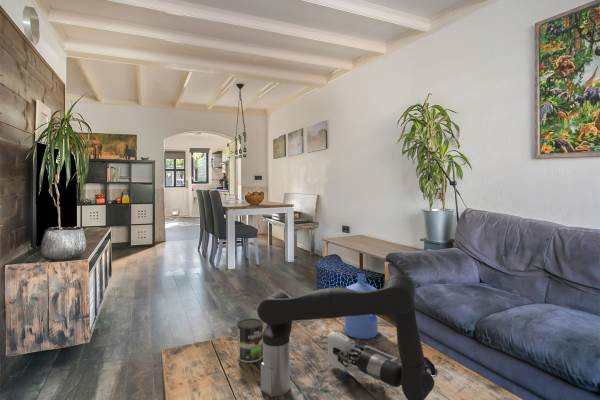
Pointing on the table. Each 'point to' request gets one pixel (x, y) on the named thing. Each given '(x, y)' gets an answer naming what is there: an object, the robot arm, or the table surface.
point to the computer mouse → (429, 366)
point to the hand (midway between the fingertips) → (337, 348)
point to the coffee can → (250, 340)
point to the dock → (383, 354)
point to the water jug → (361, 316)
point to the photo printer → (341, 344)
